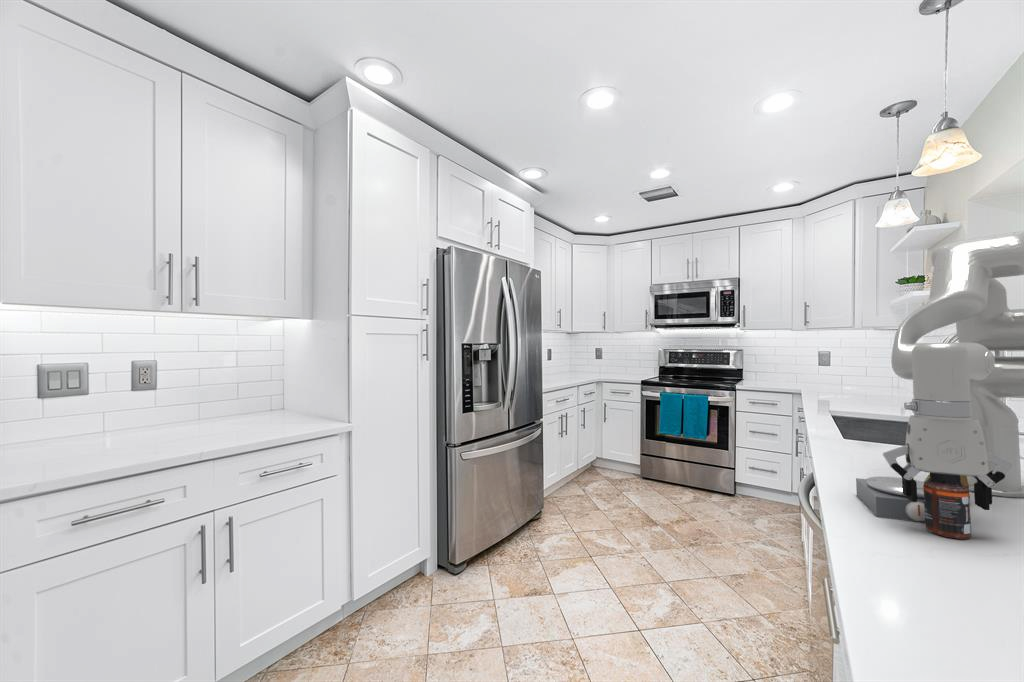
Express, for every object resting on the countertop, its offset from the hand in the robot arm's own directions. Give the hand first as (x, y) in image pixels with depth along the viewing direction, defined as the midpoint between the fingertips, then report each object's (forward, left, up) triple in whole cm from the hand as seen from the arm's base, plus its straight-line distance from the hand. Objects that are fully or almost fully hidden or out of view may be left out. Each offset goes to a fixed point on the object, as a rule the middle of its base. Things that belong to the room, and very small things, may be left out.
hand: (945, 503), depth 78 cm
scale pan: (-12, -2, -2) cm, 13 cm away
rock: (-24, +8, -6) cm, 26 cm away
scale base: (-12, -2, -6) cm, 14 cm away
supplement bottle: (0, 0, -6) cm, 6 cm away
